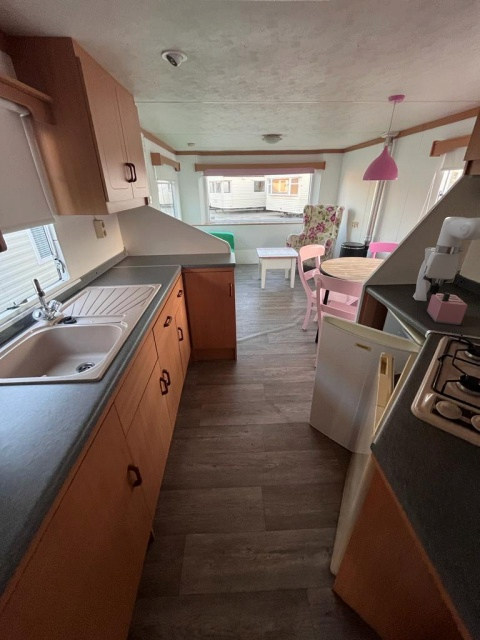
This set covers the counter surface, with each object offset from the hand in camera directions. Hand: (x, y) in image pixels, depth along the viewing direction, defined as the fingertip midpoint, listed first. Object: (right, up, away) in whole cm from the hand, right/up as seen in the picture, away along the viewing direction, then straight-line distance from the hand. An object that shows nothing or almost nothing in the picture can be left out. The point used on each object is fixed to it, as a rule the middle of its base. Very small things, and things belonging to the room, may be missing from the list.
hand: (432, 293), depth 113 cm
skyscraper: (+13, 0, +27) cm, 30 cm away
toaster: (+8, -10, +5) cm, 14 cm away
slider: (+5, -3, -1) cm, 6 cm away
